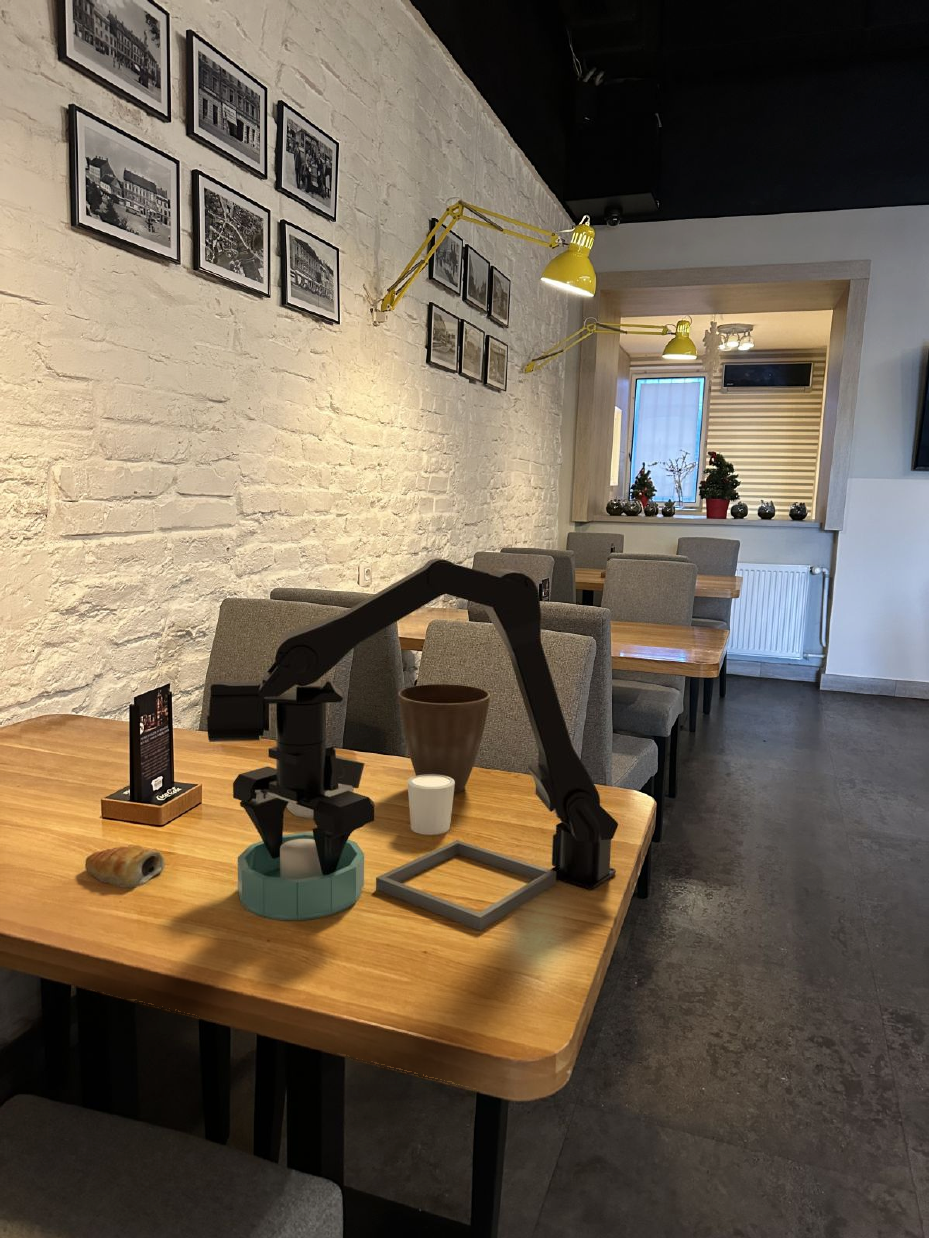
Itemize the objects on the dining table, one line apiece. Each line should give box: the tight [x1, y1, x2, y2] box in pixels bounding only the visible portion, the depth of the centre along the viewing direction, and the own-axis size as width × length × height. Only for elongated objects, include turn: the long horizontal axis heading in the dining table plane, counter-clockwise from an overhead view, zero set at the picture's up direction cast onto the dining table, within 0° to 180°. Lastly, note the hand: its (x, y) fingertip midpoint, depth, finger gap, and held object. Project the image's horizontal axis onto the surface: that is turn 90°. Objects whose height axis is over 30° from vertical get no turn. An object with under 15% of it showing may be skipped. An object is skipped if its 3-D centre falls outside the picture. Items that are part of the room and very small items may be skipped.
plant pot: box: [398, 683, 491, 794], centre depth 138 cm, size 15×15×16 cm
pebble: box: [280, 839, 323, 879], centre depth 99 cm, size 5×5×5 cm
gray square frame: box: [375, 839, 557, 931], centre depth 102 cm, size 16×16×2 cm
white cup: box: [406, 774, 455, 836], centre depth 121 cm, size 7×7×7 cm
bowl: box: [237, 832, 365, 922], centre depth 100 cm, size 14×14×4 cm
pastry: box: [84, 844, 166, 889], centre depth 104 cm, size 9×7×4 cm
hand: (301, 867), depth 100 cm, fingers open, 9 cm apart
